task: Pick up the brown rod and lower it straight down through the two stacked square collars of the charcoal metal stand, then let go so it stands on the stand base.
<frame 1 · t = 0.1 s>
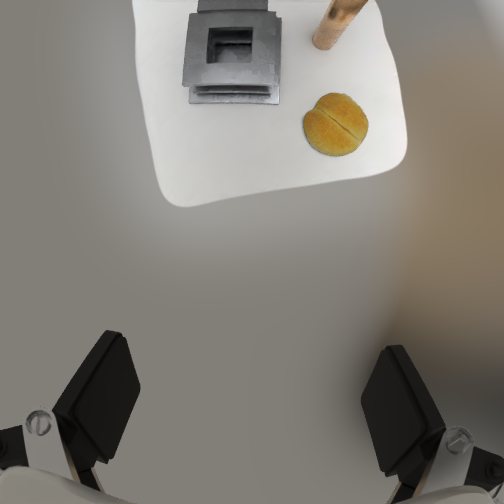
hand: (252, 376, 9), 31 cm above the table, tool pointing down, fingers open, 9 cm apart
bread roll: (334, 124, 34), on the table
collar stand: (235, 64, 31), on the table
brown rod: (322, 41, 29), on the table
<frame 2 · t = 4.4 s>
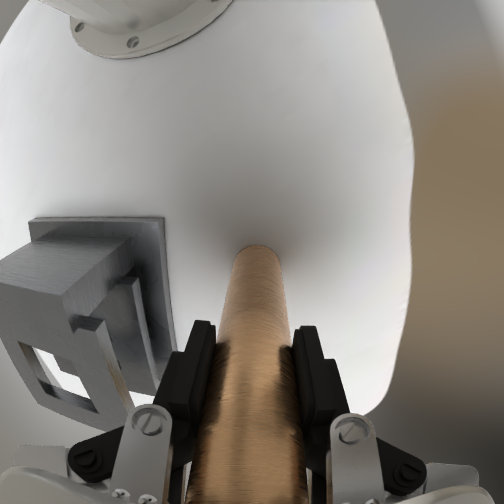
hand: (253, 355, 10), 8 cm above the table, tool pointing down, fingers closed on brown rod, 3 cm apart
collar stand: (105, 313, 20), on the table
brown rod: (256, 267, 18), on the table, touching gripper
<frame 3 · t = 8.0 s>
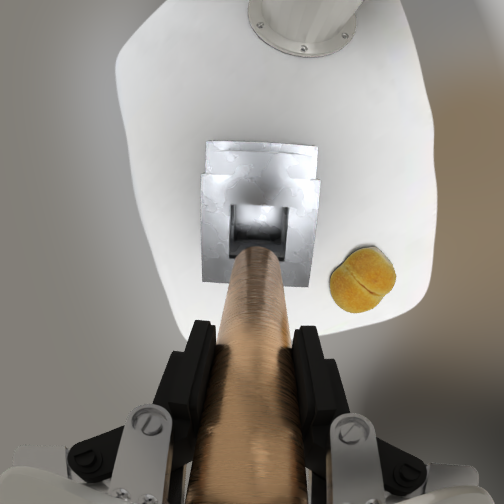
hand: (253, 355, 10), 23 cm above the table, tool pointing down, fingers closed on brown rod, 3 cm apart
bread roll: (360, 275, 34), on the table
collar stand: (258, 212, 31), on the table
brown rod: (256, 268, 18), point 15 cm above the table, touching gripper
when the fingers open (10 cm above the table, at t = 11.6 s): brown rod stays where it is, resting on collar stand.
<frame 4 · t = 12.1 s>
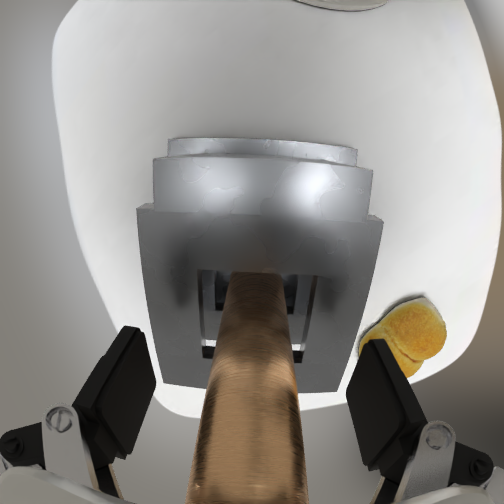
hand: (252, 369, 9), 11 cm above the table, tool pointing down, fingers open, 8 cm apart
bread roll: (399, 333, 22), on the table
collar stand: (257, 255, 19), on the table
brown rod: (256, 261, 19), point 1 cm above the table, touching collar stand
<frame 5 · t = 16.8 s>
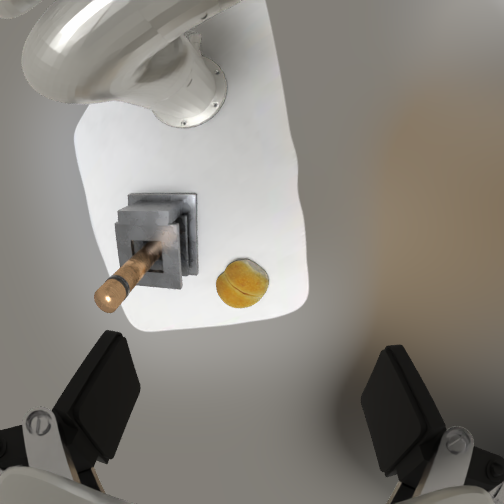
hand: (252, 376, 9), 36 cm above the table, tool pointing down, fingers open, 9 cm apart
bread roll: (242, 280, 49), on the table
collar stand: (163, 239, 46), on the table
brown rod: (161, 241, 45), point 1 cm above the table, touching collar stand
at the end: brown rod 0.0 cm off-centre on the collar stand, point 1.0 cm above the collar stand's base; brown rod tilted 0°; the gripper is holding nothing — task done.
